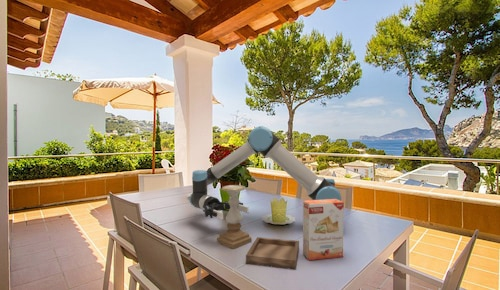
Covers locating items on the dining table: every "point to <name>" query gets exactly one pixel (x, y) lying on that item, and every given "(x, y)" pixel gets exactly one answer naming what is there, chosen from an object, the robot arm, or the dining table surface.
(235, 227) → the candle holder
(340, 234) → the cracker box
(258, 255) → the tray
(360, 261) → the dining table surface
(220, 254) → the dining table surface
